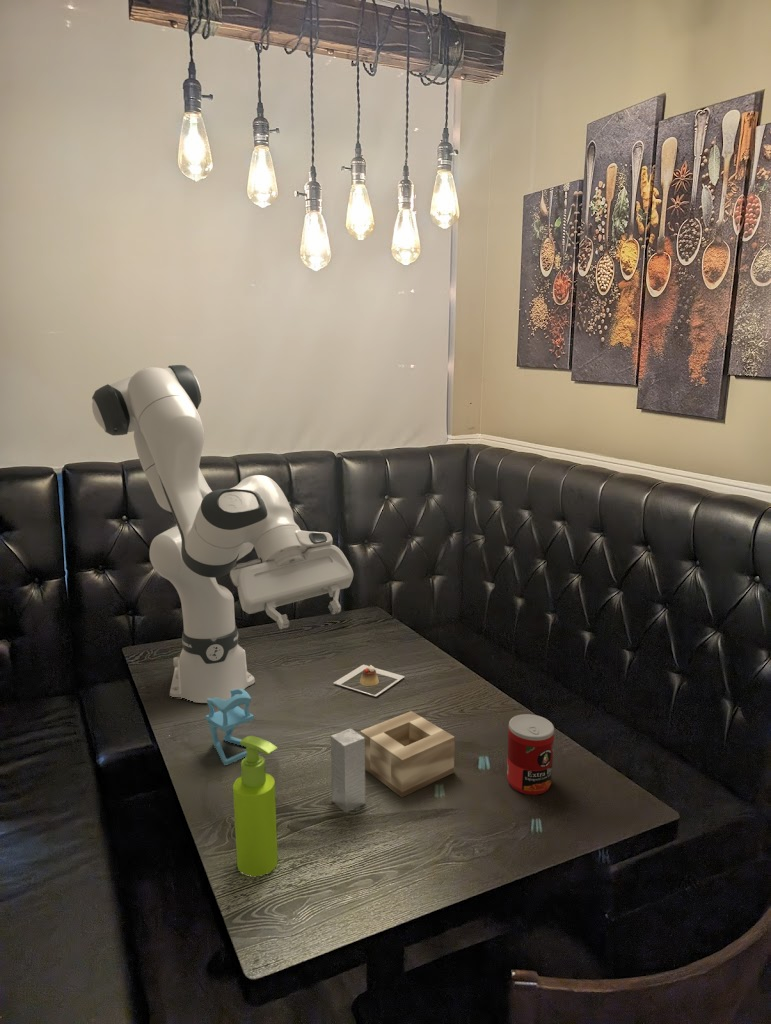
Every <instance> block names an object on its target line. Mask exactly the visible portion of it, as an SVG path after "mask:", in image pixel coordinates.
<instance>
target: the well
mask: <svg viewBox="0 0 771 1024" xmlns="http://www.w3.org/2000/svg"><path fill="white" fill-rule="evenodd" d="M359 734H360V735H361V736H363V737H364V738H365V771H366V772H368V773H369V774H370V775H372V776H373V777H374V778H376V779H377V780H378V781H380V782H381V783H383V784H384V785H385V786H387V788H390V790H392V791H393V792H394V793H395V794H397V795H398V796H400V797H401V798H404V797H407V795H411V794H412V793H414V792H416V791H419V790H421V789H422V788H425V787H427V786H429V785H431V784H433V783H435V782H437V781H439V780H441V779H443V778H445V777H447V776H449V775H451V774H452V775H453V774H454V773H455V745H456V744H455V743H456V742H455V738H456V737H455V736H454V735H453V734H451V733H449V732H448V731H445V730H444V729H442V728H440V727H439V726H437V725H436V724H434V723H432V722H430V721H429V720H428V719H426V718H424V717H422V716H421V715H419V714H417V713H415V712H414V711H413V710H410V711H408V712H405V713H402V714H400V715H397V716H395V717H393V718H390V719H387V720H385V721H382V722H379V723H377V724H374V725H372V726H369V727H366V728H364V729H362V730H360V731H359Z"/></svg>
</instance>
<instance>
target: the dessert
mask: <svg viewBox="0 0 771 1024" xmlns="http://www.w3.org/2000/svg"><path fill="white" fill-rule="evenodd" d="M360 673H361V676H360V680H359V684H360V685H361V686H365V687H374V686H377V685H379V683H380V680H379V677H378V676H379V675H381V676H386V677H390V678H391V679H392V678H393V679H395V680H394V681H393V682H392V683H390V684H389V685H387V686H386V687H384V688H383V689H382V690H380V691H379V692H377V693H375V694H374V693H373V694H372V693H369V692H366V691H362V690H360V689H357V688H354V687H350V686H346V685H343V684H344V683H345V682H347V681H349V680H351V679H352V678H354V677H356V676H357V675H358V674H360ZM405 677H406V676H405V675H402V674H399V673H394V672H391V671H387V670H384V669H381V668H377V667H375V666H373V665H372V664H370V665H367V664H362V665H359V666H358V667H357V668H355V669H353V670H352V671H350V672H349V673H347V674H345V675H343V676H342V677H340V678H339V679H337V680H335V681H334V682H333V684H334V685H337V686H340V687H343V688H346V689H349V690H353V691H355V692H359V693H363V694H366V695H369V696H372V697H378V696H379V695H381V694H383V693H384V692H386V691H387V690H388V689H390V688H391V687H393V686H394V685H395V684H397V683H398V682H399V681H401V680H403V678H405Z"/></svg>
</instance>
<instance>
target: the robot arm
mask: <svg viewBox="0 0 771 1024" xmlns="http://www.w3.org/2000/svg"><path fill="white" fill-rule="evenodd" d="M91 399H92V403H91V406H92V413H93V414H92V415H93V417H94V419H95V421H96V422H97V424H98V425H99V427H101V428H102V429H103V430H104V432H105V433H106V434H108V435H111V436H115V437H117V436H124V435H128V433H130V432H133V439H134V444H135V449H136V452H137V456H138V459H139V461H140V462H139V463H140V465H141V469H142V470H143V472H144V475H145V477H146V480H147V481H148V484H149V486H150V488H151V491H152V493H153V496H154V498H155V500H156V503H157V504H158V505H159V507H160V508H162V510H165V511H167V512H169V513H172V516H173V519H174V522H175V523H176V526H173V527H171V528H169V529H167V530H165V531H162V532H161V533H159V534H158V535H156V536H155V537H154V538H153V539H152V541H151V543H150V546H149V553H148V554H149V561H150V563H151V566H152V567H153V569H154V570H155V572H156V574H158V575H159V576H161V577H162V578H164V579H165V580H167V581H169V582H170V583H171V585H173V587H174V588H175V590H176V591H177V595H178V596H179V600H180V603H181V605H180V606H181V611H182V614H181V615H182V621H183V623H182V624H183V631H182V633H181V634H182V635H181V642H182V648H181V652H180V655H179V656H176V657H173V659H172V661H173V667H174V671H173V674H172V680H171V684H170V689H169V697H170V696H172V697H181V698H180V699H182V698H185V699H187V700H186V701H188V700H190V701H189V702H191V701H193V702H192V703H200V704H208V702H207V698H210V699H212V698H216V697H218V698H220V699H222V700H227V699H229V698H231V691H230V690H231V689H233V690H237V689H243V690H246V688H248V687H249V686H252V685H254V683H256V679H255V677H254V675H252V674H251V673H250V672H249V671H248V667H247V665H248V664H247V656H246V650H245V649H243V647H242V646H240V645H239V631H238V626H237V625H236V619H235V617H236V616H235V615H236V614H235V598H234V596H233V593H232V592H231V591H230V590H229V588H227V587H226V586H224V585H221V584H218V581H217V579H216V578H221V577H224V576H226V575H228V574H229V578H230V580H231V583H232V584H233V585H234V586H235V587H236V588H237V593H238V598H239V599H238V600H239V603H240V607H241V609H242V611H243V612H245V613H247V614H248V615H250V614H256V613H259V612H262V611H263V612H264V611H265V613H266V615H267V616H268V617H270V618H271V619H272V620H274V621H275V622H276V623H277V626H278V628H279V630H282V629H286V628H289V626H290V621H289V619H288V615H287V614H286V613H285V614H281V613H280V612H278V611H277V610H276V609H277V608H278V607H281V606H285V605H289V604H292V603H296V602H301V601H303V600H307V599H310V598H314V597H318V596H322V595H325V594H328V595H329V597H330V598H332V600H331V601H330V602H329V604H328V610H329V611H330V614H331V615H335V614H339V613H341V611H342V606H341V604H340V602H339V597H340V590H344V589H348V588H349V587H350V586H351V584H352V581H353V578H354V576H355V575H354V571H353V568H352V566H351V563H350V562H349V560H348V559H347V557H346V555H345V554H344V552H343V551H342V550H341V549H340V548H339V547H338V546H336V545H334V544H333V537H332V534H331V533H329V532H324V531H321V532H320V531H309V530H308V531H307V530H301V528H300V526H299V525H298V524H297V523H296V522H295V518H294V513H293V510H292V507H291V505H290V503H289V501H288V498H287V497H286V495H285V493H284V491H283V489H282V488H281V487H280V486H279V484H278V483H277V482H276V481H274V479H272V478H271V477H269V476H267V475H262V474H255V475H250V476H247V477H245V478H243V479H241V480H240V482H239V483H237V485H235V486H233V487H231V488H221V489H216V490H212V489H211V487H210V486H209V484H208V482H207V480H206V479H205V477H204V475H203V472H202V471H201V468H200V463H201V457H202V452H203V447H204V442H205V429H204V425H203V422H202V418H201V416H200V414H199V411H198V409H199V407H200V404H201V403H202V390H201V385H200V383H199V380H198V378H197V376H195V374H194V372H193V371H192V370H191V368H189V367H188V366H186V365H183V364H175V365H174V364H173V365H168V367H163V368H161V367H157V366H150V367H145V368H142V369H140V370H138V371H136V372H135V373H134V374H133V375H132V376H130V377H129V376H128V377H126V378H123V379H121V380H119V381H116V382H114V383H112V384H110V383H109V384H108V383H107V384H105V385H103V386H101V387H99V388H97V389H96V390H95V391H94V392H93V395H92V397H91ZM253 549H254V551H255V552H256V555H257V557H258V558H255V559H252V560H249V561H246V562H240V563H237V562H238V561H240V560H241V559H242V558H244V557H245V556H246V555H248V554H249V553H251V552H252V550H253ZM236 695H239V694H236ZM172 697H171V698H172ZM185 699H184V700H185Z"/></svg>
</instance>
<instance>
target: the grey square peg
mask: <svg viewBox="0 0 771 1024" xmlns="http://www.w3.org/2000/svg"><path fill="white" fill-rule="evenodd" d="M330 767H331V770H330V771H331V801H332V802H333V803H334V804H335V805H336V806H337V807H338V808H339V809H341V810H342V811H343V812H344V813H348V812H350V811H352V810H355V809H356V808H359V807H360V806H363V805H365V804H366V770H365V738H364V737H363V736H361V735H360V733H358V731H356V730H354V729H353V728H352V727H350V728H348V729H345V730H342V731H339V732H337V733H335V734H332V735H330Z"/></svg>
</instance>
